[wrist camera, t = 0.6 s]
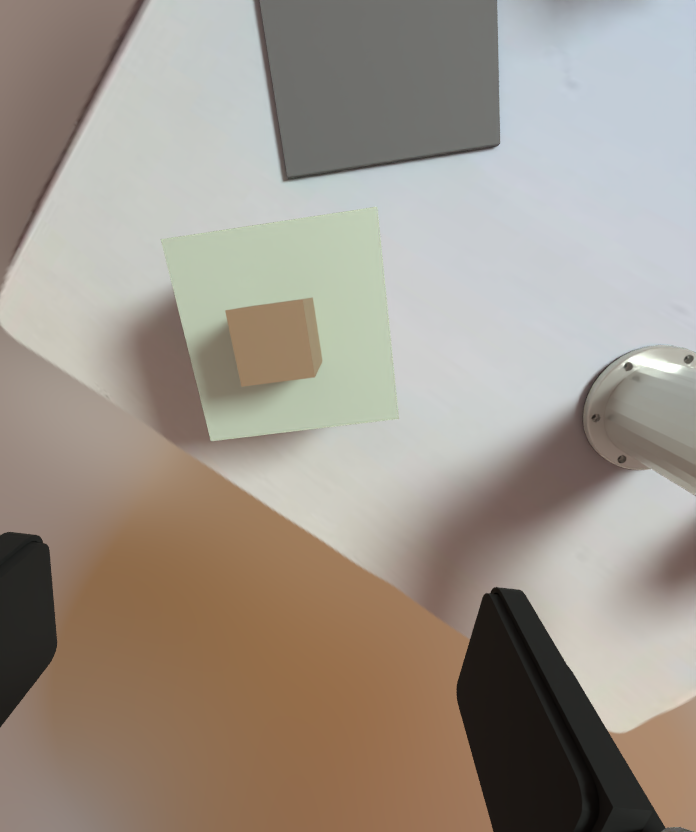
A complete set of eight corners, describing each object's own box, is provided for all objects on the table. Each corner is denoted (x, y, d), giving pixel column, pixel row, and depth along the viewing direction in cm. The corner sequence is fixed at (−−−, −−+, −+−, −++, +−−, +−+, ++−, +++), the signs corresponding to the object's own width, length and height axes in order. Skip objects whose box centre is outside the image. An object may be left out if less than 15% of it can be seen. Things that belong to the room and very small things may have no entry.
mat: (491, -141, 29) (493, -149, 29) (497, 145, 35) (500, 143, 34) (246, -92, 31) (243, -100, 30) (288, 178, 36) (287, 176, 35)
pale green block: (369, 235, 37) (382, 186, 19) (385, 376, 41) (407, 446, 23) (229, 256, 38) (113, 227, 20) (257, 392, 42) (181, 472, 24)
